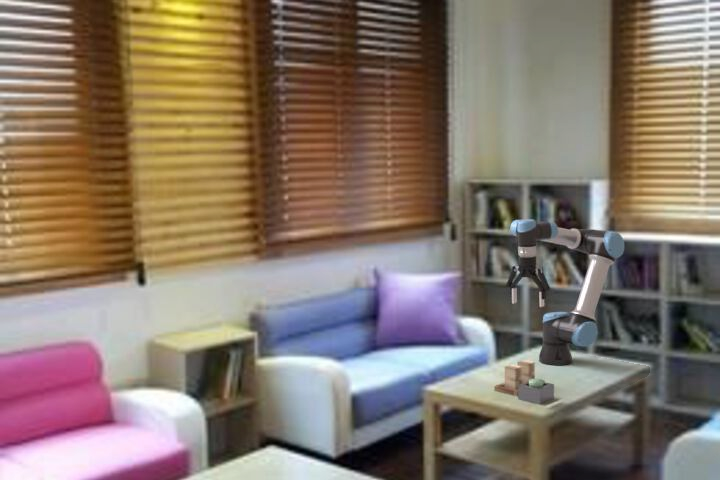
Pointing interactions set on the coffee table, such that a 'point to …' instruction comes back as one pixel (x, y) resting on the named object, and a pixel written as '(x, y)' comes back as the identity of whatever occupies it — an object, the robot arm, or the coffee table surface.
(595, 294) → the robot arm
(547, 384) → the grey square bin
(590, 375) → the coffee table surface
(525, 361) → the billet
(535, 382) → the button
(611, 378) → the coffee table surface
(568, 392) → the coffee table surface
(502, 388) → the wooden divided tray
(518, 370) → the seated billet
